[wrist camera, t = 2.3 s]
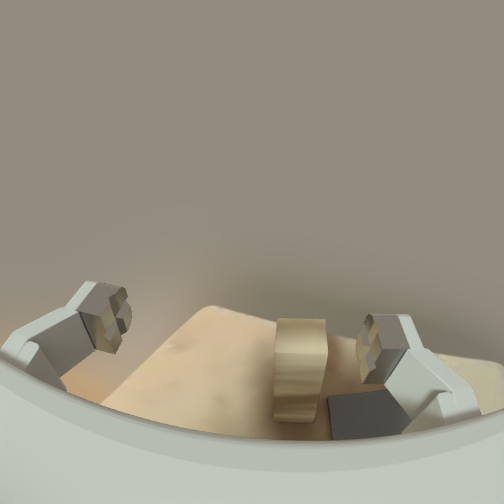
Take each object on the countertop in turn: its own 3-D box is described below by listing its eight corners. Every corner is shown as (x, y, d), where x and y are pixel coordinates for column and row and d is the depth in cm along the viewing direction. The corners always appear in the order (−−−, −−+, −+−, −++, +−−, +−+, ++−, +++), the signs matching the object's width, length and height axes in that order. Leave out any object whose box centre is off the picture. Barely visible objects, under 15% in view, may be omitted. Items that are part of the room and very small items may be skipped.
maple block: (313, 422, 27) (328, 353, 22) (273, 421, 28) (273, 352, 23) (313, 392, 31) (325, 319, 26) (276, 391, 32) (277, 318, 27)
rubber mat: (464, 500, 13) (466, 498, 13) (338, 537, 14) (339, 537, 14) (427, 384, 29) (429, 381, 29) (327, 398, 30) (327, 396, 30)
